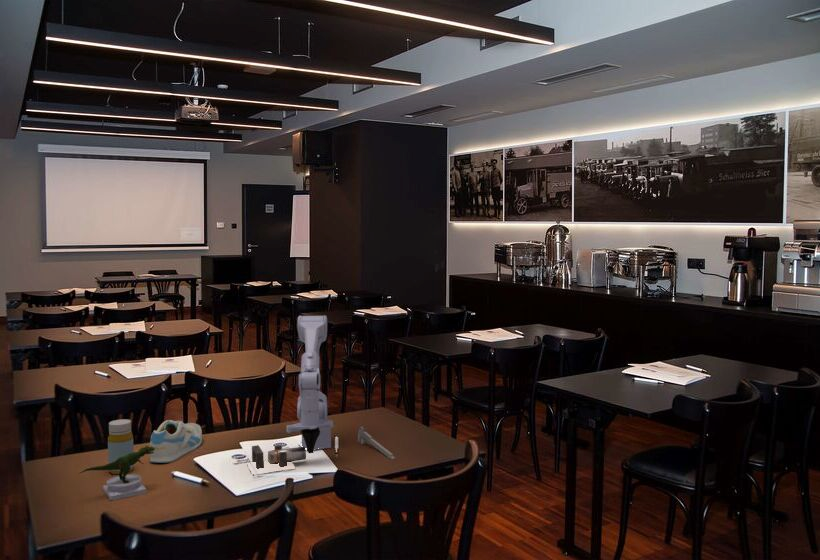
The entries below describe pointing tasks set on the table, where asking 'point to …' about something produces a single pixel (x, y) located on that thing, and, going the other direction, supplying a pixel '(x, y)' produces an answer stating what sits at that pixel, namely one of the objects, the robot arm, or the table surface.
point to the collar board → (258, 456)
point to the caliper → (372, 442)
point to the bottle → (119, 441)
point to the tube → (292, 455)
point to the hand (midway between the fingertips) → (310, 452)
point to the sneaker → (174, 440)
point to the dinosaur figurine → (124, 476)
